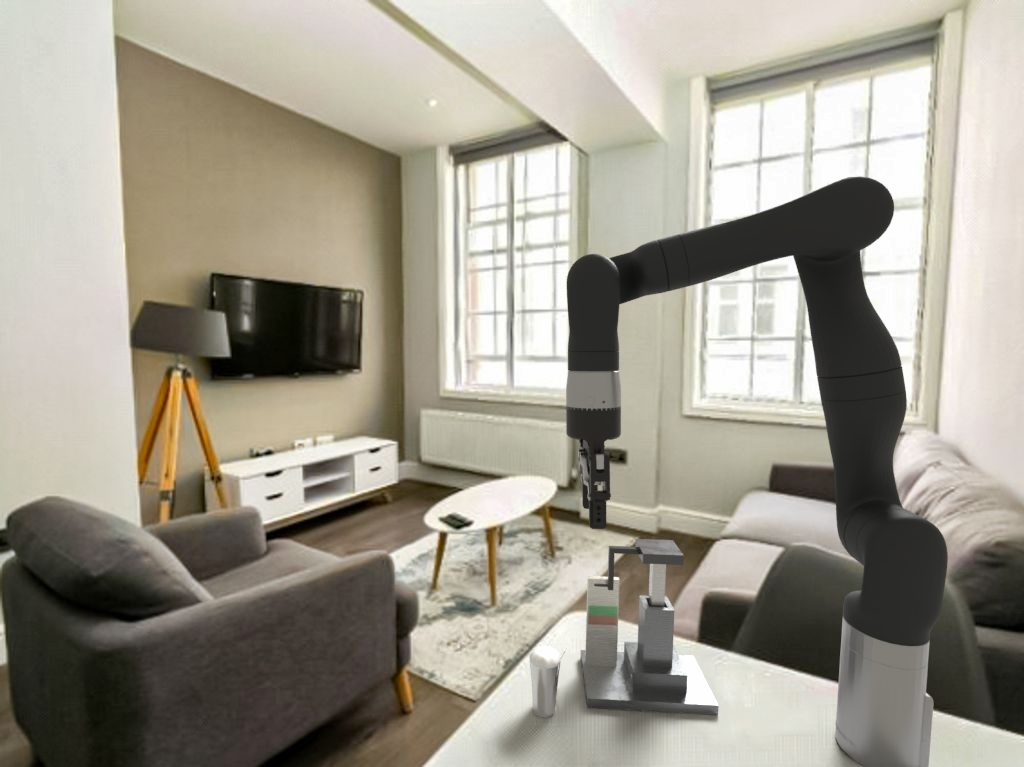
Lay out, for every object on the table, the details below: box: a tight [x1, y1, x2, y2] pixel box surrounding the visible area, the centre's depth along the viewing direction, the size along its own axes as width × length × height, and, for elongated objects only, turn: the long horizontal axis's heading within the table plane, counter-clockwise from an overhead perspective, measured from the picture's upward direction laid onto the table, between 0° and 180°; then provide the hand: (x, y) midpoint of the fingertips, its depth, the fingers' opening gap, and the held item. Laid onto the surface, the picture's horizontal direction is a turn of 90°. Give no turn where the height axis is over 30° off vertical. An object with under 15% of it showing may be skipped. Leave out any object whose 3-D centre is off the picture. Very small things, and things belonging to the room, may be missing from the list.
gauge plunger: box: [607, 538, 685, 607], centre depth 79 cm, size 10×6×12 cm, turn 87°
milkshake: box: [529, 645, 567, 719], centre depth 73 cm, size 4×5×10 cm
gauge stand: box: [580, 575, 719, 716], centre depth 79 cm, size 19×12×16 cm, turn 87°
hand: (593, 517), depth 71 cm, fingers open, 8 cm apart
